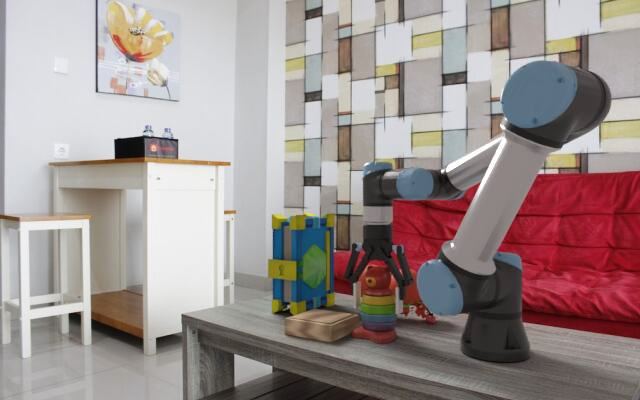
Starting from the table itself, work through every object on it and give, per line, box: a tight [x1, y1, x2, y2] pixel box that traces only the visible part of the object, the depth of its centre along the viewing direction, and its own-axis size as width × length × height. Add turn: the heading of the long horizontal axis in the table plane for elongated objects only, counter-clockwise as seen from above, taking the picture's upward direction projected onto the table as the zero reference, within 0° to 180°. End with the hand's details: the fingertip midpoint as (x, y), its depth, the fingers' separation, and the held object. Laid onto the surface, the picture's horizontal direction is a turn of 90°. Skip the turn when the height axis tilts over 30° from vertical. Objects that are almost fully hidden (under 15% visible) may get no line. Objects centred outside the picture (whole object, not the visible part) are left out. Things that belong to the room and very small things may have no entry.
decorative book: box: [267, 212, 336, 316], centre depth 160 cm, size 14×23×30 cm, turn 145°
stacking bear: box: [351, 264, 398, 344], centre depth 129 cm, size 11×10×18 cm
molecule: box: [357, 264, 437, 324], centre depth 147 cm, size 25×11×15 cm, turn 65°
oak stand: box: [284, 308, 360, 343], centre depth 133 cm, size 14×14×4 cm
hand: (377, 310), depth 129 cm, fingers open, 11 cm apart
